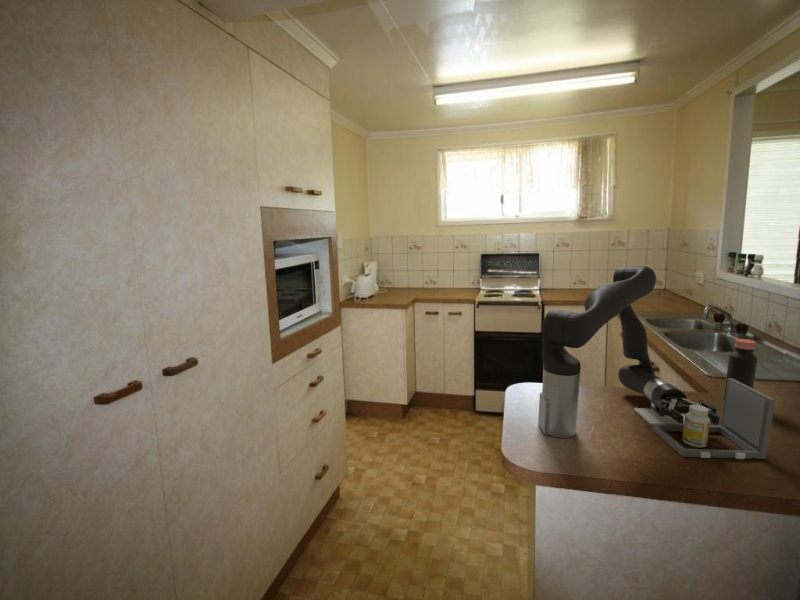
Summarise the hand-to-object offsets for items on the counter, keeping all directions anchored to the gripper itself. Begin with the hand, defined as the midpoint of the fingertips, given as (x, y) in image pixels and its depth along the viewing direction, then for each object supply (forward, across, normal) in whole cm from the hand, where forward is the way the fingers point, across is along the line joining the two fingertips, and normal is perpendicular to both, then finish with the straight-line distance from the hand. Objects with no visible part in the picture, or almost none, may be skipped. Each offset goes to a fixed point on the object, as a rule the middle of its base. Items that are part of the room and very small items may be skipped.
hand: (699, 420), depth 106 cm
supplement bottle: (-1, 0, +7) cm, 7 cm away
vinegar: (-28, +29, +7) cm, 41 cm away
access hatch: (-1, +2, +6) cm, 7 cm away
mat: (-15, 0, +6) cm, 17 cm away
